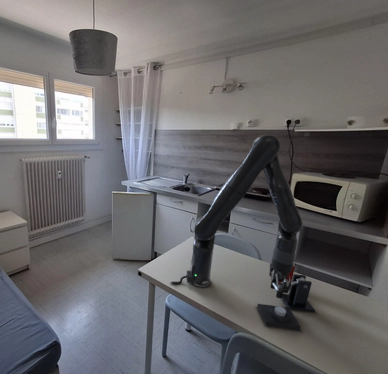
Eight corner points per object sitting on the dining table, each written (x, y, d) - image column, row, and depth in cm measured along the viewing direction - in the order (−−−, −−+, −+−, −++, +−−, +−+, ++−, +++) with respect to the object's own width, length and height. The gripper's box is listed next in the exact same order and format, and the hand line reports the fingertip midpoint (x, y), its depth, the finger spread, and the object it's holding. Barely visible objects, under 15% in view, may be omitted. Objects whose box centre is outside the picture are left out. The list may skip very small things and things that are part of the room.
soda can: (292, 288, 105) (297, 266, 102) (280, 286, 106) (285, 264, 103) (287, 281, 110) (292, 260, 107) (276, 279, 111) (280, 258, 108)
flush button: (276, 316, 84) (277, 312, 84) (272, 309, 88) (273, 305, 87) (287, 317, 84) (288, 313, 84) (282, 310, 87) (283, 306, 87)
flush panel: (265, 326, 84) (267, 317, 83) (256, 307, 93) (258, 299, 92) (299, 330, 83) (301, 322, 82) (287, 311, 91) (289, 303, 90)
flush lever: (278, 294, 93) (276, 289, 93) (272, 286, 98) (271, 281, 98) (309, 287, 90) (308, 282, 90) (302, 279, 95) (301, 275, 95)
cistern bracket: (288, 309, 93) (294, 283, 89) (279, 295, 100) (284, 271, 97) (314, 312, 91) (321, 286, 88) (303, 298, 99) (309, 273, 96)
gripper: (266, 248, 99) (260, 281, 103) (281, 267, 85) (273, 304, 90) (284, 250, 98) (277, 282, 102) (302, 269, 84) (294, 306, 88)
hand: (275, 292), depth 96 cm, fingers open, 5 cm apart
